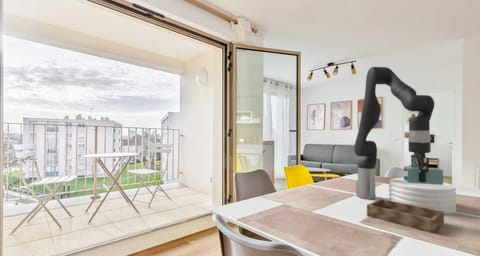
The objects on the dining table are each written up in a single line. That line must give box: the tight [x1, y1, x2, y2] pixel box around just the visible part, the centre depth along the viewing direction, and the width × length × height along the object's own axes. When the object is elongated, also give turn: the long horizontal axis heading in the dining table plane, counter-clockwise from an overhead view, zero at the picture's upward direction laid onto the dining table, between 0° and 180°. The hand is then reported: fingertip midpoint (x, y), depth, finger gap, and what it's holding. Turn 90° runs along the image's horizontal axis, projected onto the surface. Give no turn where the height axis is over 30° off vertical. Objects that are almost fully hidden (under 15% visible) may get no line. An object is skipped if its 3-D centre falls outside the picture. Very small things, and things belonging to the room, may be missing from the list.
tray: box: [366, 198, 445, 234], centre depth 103 cm, size 24×16×5 cm, turn 39°
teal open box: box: [403, 166, 444, 185], centre depth 101 cm, size 6×6×12 cm
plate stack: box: [388, 177, 457, 214], centre depth 125 cm, size 28×28×12 cm
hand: (419, 180), depth 101 cm, fingers closed on teal open box, 6 cm apart
